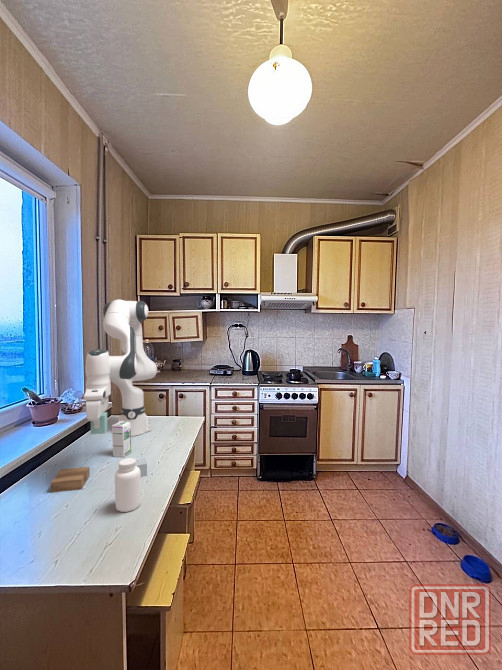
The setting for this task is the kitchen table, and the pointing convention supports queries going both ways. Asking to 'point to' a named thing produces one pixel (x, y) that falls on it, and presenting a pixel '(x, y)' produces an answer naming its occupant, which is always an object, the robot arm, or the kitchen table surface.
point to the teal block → (103, 425)
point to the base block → (70, 479)
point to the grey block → (142, 467)
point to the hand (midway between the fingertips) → (99, 425)
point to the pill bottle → (127, 485)
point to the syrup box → (121, 438)
